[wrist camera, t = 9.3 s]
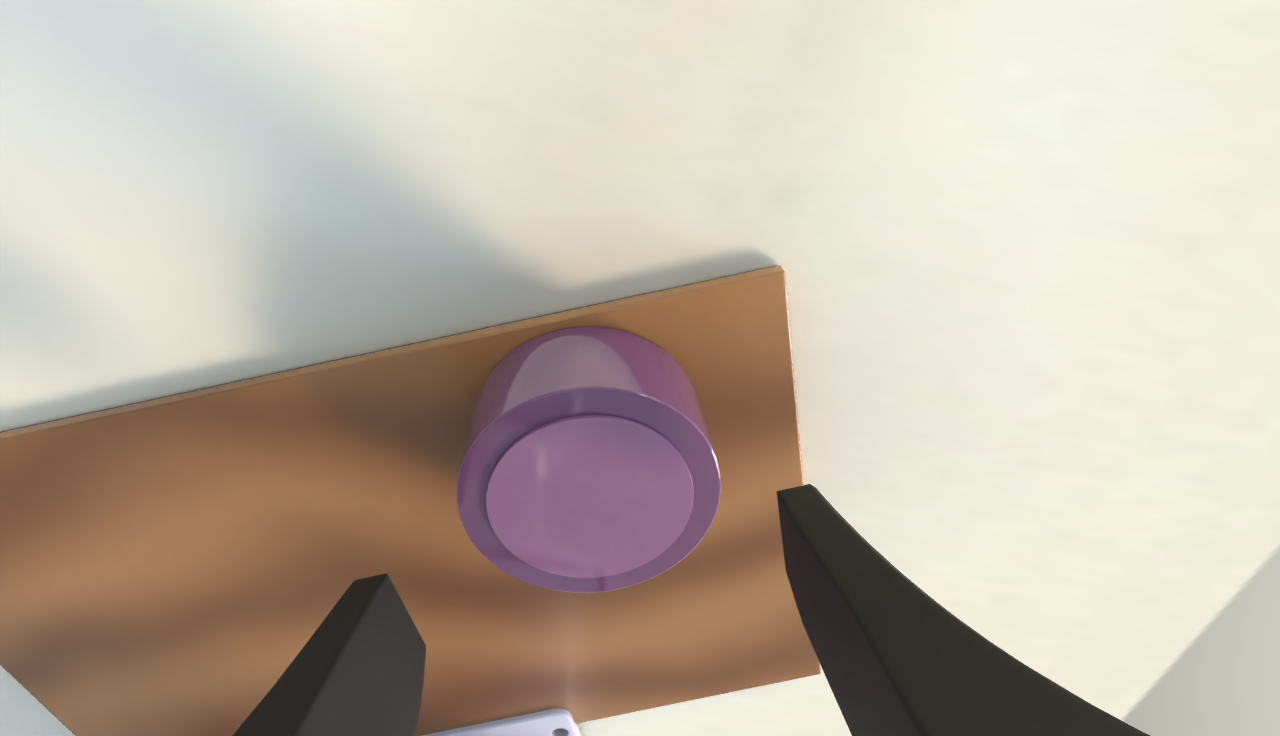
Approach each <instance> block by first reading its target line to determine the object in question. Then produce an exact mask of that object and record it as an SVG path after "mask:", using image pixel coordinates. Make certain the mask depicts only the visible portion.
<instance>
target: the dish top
mask: <svg viewBox="0 0 1280 736" xmlns="http://www.w3.org/2000/svg"><path fill="white" fill-rule="evenodd" d="M720 496H721V474H720V469H719V465H718V461H717V457H716V454H715V451H714V447H713V444H712V441H711V438H710V434H709V431H708V428H707V425H706V421H705V418H704V415H703V412H702V408H701V405H700V402H699V399H698V395H697V392H696V390H695V388H694V386H693V383H692V381H691V380H690V378H689V377H688V375H687V373H686V372H685V370H684V369H683V368H682V367H681V366H680V365H679V363H678V362H677V361H676V360H675V359H674V358H673V357H671V356H670V355H669V354H668V353H667V352H666V351H664V350H663V349H661V348H660V347H658V346H657V345H655V344H654V343H652V342H650V341H648V340H646V339H644V338H642V337H640V336H637V335H634V334H631V333H628V332H625V331H621V330H616V329H611V328H603V327H574V328H567V329H561V330H557V331H553V332H550V333H546V334H543V335H541V336H538V337H536V338H534V339H531V340H529V341H527V342H526V343H524V344H522V345H520V346H519V347H517V348H515V349H514V350H513V351H511V352H510V353H509V354H507V355H506V356H505V357H504V358H503V359H502V360H501V361H500V362H499V363H498V364H497V365H496V366H495V367H494V368H493V369H492V370H491V372H490V373H489V374H488V376H487V377H486V378H485V380H484V382H483V384H482V385H481V387H480V389H479V391H478V394H477V397H476V400H475V402H474V406H473V411H472V415H471V420H470V424H469V429H468V433H467V437H466V442H465V446H464V451H463V455H462V459H461V464H460V468H459V473H458V478H457V484H456V501H457V507H458V513H459V516H460V519H461V522H462V525H463V527H464V529H465V531H466V533H467V534H468V536H469V538H470V540H471V541H472V542H473V544H474V545H475V546H476V548H477V549H478V550H479V551H480V552H481V553H482V554H483V555H484V556H485V557H486V558H487V559H488V560H489V561H490V562H491V563H493V564H494V565H495V566H497V567H498V568H499V569H501V570H503V571H504V572H506V573H508V574H509V575H511V576H513V577H515V578H517V579H519V580H522V581H524V582H526V583H529V584H532V585H535V586H538V587H542V588H546V589H551V590H555V591H563V592H572V593H593V592H605V591H611V590H617V589H622V588H626V587H629V586H633V585H636V584H639V583H642V582H644V581H647V580H649V579H651V578H654V577H656V576H658V575H660V574H662V573H663V572H665V571H667V570H668V569H670V568H672V567H673V566H675V565H676V564H677V563H679V562H680V561H681V560H683V559H684V558H685V557H686V556H687V555H688V554H689V553H690V552H691V551H692V550H693V549H695V548H696V546H697V545H698V544H699V543H700V541H701V540H702V539H703V538H704V536H705V535H706V533H707V531H708V530H709V528H710V526H711V525H712V522H713V520H714V518H715V515H716V513H717V509H718V505H719V501H720Z"/></svg>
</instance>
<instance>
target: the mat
mask: <svg viewBox="0 0 1280 736" xmlns="http://www.w3.org/2000/svg"><path fill="white" fill-rule="evenodd" d="M574 327H603V328H611V329H616V330H621V331H625V332H628V333H631V334H634V335H637V336H640V337H642V338H644V339H646V340H648V341H650V342H652V343H654V344H655V345H657V346H658V347H660V348H661V349H663V350H664V351H666V352H667V353H668V354H669V355H670V356H671V357H673V358H674V359H675V360H676V361H677V362H678V363H679V365H680V366H681V367H682V368H683V369H684V370H685V372H686V373H687V375H688V377H689V378H690V380H691V381H692V383H693V386H694V388H695V390H696V392H697V395H698V399H699V402H700V405H701V408H702V412H703V415H704V418H705V421H706V425H707V428H708V431H709V434H710V438H711V441H712V444H713V447H714V451H715V454H716V457H717V461H718V465H719V469H720V474H721V496H720V501H719V505H718V509H717V513H716V515H715V518H714V520H713V522H712V525H711V526H710V528H709V530H708V531H707V533H706V535H705V536H704V538H703V539H702V540H701V541H700V543H699V544H698V545H697V546H696V548H695V549H693V550H692V551H691V552H690V553H689V554H688V555H687V556H686V557H685V558H684V559H683V560H681V561H680V562H679V563H677V564H676V565H675V566H673V567H672V568H670V569H668V570H667V571H665V572H663V573H662V574H660V575H658V576H656V577H654V578H651V579H649V580H647V581H644V582H642V583H639V584H636V585H633V586H629V587H626V588H622V589H617V590H611V591H605V592H593V593H572V592H563V591H555V590H551V589H546V588H542V587H538V586H535V585H532V584H529V583H526V582H524V581H522V580H519V579H517V578H515V577H513V576H511V575H509V574H508V573H506V572H504V571H503V570H501V569H499V568H498V567H497V566H495V565H494V564H493V563H491V562H490V561H489V560H488V559H487V558H486V557H485V556H484V555H483V554H482V553H481V552H480V551H479V550H478V549H477V548H476V546H475V545H474V544H473V542H472V541H471V540H470V538H469V536H468V534H467V533H466V531H465V529H464V527H463V525H462V522H461V519H460V516H459V513H458V507H457V501H456V484H457V478H458V473H459V468H460V464H461V459H462V455H463V451H464V446H465V442H466V437H467V433H468V429H469V424H470V420H471V415H472V411H473V406H474V402H475V400H476V397H477V394H478V391H479V389H480V387H481V385H482V384H483V382H484V380H485V378H486V377H487V376H488V374H489V373H490V372H491V370H492V369H493V368H494V367H495V366H496V365H497V364H498V363H499V362H500V361H501V360H502V359H503V358H504V357H505V356H506V355H507V354H509V353H510V352H511V351H513V350H514V349H515V348H517V347H519V346H520V345H522V344H524V343H526V342H527V341H529V340H531V339H534V338H536V337H538V336H541V335H543V334H546V333H550V332H553V331H557V330H561V329H567V328H574ZM803 485H804V482H803V470H802V459H801V448H800V437H799V426H798V414H797V403H796V392H795V381H794V370H793V358H792V347H791V336H790V325H789V313H788V302H787V291H786V280H785V272H784V270H783V269H782V267H781V266H774V267H769V268H765V269H760V270H755V271H751V272H746V273H741V274H737V275H732V276H727V277H723V278H718V279H713V280H709V281H704V282H699V283H695V284H690V285H685V286H681V287H676V288H671V289H667V290H662V291H657V292H653V293H648V294H643V295H639V296H634V297H629V298H625V299H620V300H615V301H611V302H606V303H601V304H597V305H592V306H587V307H583V308H578V309H573V310H569V311H564V312H559V313H555V314H550V315H546V316H541V317H536V318H532V319H527V320H522V321H518V322H513V323H508V324H504V325H499V326H494V327H490V328H485V329H480V330H476V331H471V332H466V333H462V334H457V335H452V336H448V337H443V338H438V339H434V340H429V341H424V342H420V343H415V344H410V345H406V346H401V347H396V348H392V349H387V350H382V351H378V352H373V353H368V354H364V355H359V356H354V357H350V358H345V359H340V360H336V361H331V362H326V363H322V364H317V365H312V366H308V367H303V368H298V369H294V370H289V371H284V372H280V373H275V374H271V375H266V376H261V377H257V378H252V379H247V380H243V381H238V382H233V383H229V384H224V385H219V386H215V387H210V388H205V389H201V390H196V391H191V392H187V393H182V394H177V395H173V396H168V397H163V398H159V399H154V400H149V401H145V402H140V403H135V404H131V405H126V406H121V407H117V408H112V409H107V410H103V411H98V412H93V413H89V414H84V415H79V416H75V417H70V418H65V419H61V420H56V421H51V422H47V423H42V424H37V425H33V426H28V427H23V428H19V429H14V430H10V431H5V432H0V665H1V666H2V667H3V668H4V669H5V670H6V671H7V672H9V673H10V674H11V675H12V676H13V677H14V678H15V679H16V680H17V681H18V682H19V683H20V684H21V685H22V686H23V687H24V688H25V689H27V690H28V691H29V692H30V693H31V694H32V695H33V696H34V697H35V698H36V699H37V700H38V701H39V702H40V703H41V704H42V705H43V706H45V707H46V708H47V709H48V710H49V711H50V712H51V713H52V714H53V715H54V716H55V717H56V718H57V719H58V720H59V721H60V722H61V723H63V724H64V725H65V726H66V727H67V728H68V729H69V730H70V731H71V732H72V733H73V734H74V735H75V736H232V735H233V734H234V733H235V732H236V730H237V729H238V728H239V727H240V726H241V724H242V723H243V722H244V721H245V720H246V718H247V717H248V716H249V715H250V714H251V712H252V711H253V710H254V709H255V708H256V706H257V705H258V704H259V703H260V702H261V700H262V699H263V698H264V697H265V696H266V694H267V693H268V692H269V691H270V690H271V688H272V687H273V686H274V685H275V683H276V682H277V681H278V679H279V678H280V677H281V676H282V674H283V673H284V672H285V670H286V669H287V668H288V666H289V665H290V664H291V663H292V661H293V660H294V659H295V657H296V656H297V655H298V653H299V652H300V651H301V650H302V648H303V647H304V646H305V644H306V643H307V642H308V640H309V639H310V638H311V636H312V635H313V634H314V632H315V631H316V630H317V628H318V627H319V626H320V625H321V623H322V622H323V621H324V619H325V618H326V617H327V615H328V614H329V613H330V611H331V610H332V609H333V607H334V606H335V605H336V603H337V602H338V601H339V599H340V598H341V597H342V595H343V594H344V593H345V592H346V590H347V589H348V588H349V587H350V585H351V584H352V583H353V582H354V580H357V579H362V578H367V577H371V576H376V575H381V574H386V573H387V574H388V576H389V578H390V579H391V581H392V583H393V585H394V587H395V589H396V591H397V592H398V594H399V596H400V598H401V600H402V602H403V604H404V605H405V607H406V609H407V611H408V613H409V615H410V617H411V619H412V620H413V622H414V624H415V626H416V628H417V630H418V632H419V633H420V635H421V637H422V639H423V641H424V643H425V645H426V658H425V671H424V683H423V692H422V702H421V707H420V712H419V717H418V722H417V727H416V732H415V736H422V735H427V734H432V733H437V732H442V731H447V730H451V729H456V728H461V727H466V726H471V725H476V724H481V723H486V722H491V721H496V720H501V719H505V718H510V717H515V716H520V715H525V714H530V713H535V712H540V711H545V710H550V709H558V708H559V709H564V710H566V711H568V712H569V713H570V714H571V715H572V717H573V720H574V722H575V724H576V723H581V722H586V721H591V720H596V719H601V718H606V717H610V716H615V715H620V714H625V713H630V712H635V711H640V710H645V709H650V708H655V707H660V706H665V705H669V704H674V703H679V702H684V701H689V700H694V699H699V698H704V697H709V696H714V695H719V694H724V693H729V692H733V691H738V690H743V689H748V688H753V687H758V686H763V685H768V684H773V683H778V682H783V681H788V680H792V679H797V678H802V677H807V676H812V675H817V674H820V662H819V660H818V658H817V655H816V653H815V651H814V649H813V646H812V644H811V642H810V639H809V637H808V635H807V633H806V630H805V628H804V626H803V623H802V620H801V617H800V614H799V611H798V608H797V605H796V602H795V599H794V596H793V592H792V589H791V586H790V583H789V580H788V576H787V573H786V568H785V560H784V552H783V543H782V535H781V526H780V518H779V509H778V501H777V492H776V491H779V490H784V489H789V488H794V487H798V486H803Z"/></svg>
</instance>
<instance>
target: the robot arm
mask: <svg viewBox="0 0 1280 736" xmlns="http://www.w3.org/2000/svg"><path fill="white" fill-rule="evenodd" d="M776 492H777V501H778V509H779V518H780V526H781V535H782V543H783V552H784V560H785V568H786V573H787V576H788V580H789V583H790V586H791V589H792V592H793V596H794V599H795V602H796V605H797V608H798V611H799V614H800V617H801V620H802V623H803V626H804V628H805V630H806V633H807V635H808V637H809V639H810V642H811V644H812V646H813V649H814V651H815V653H816V655H817V658H818V660H819V662H820V664H821V667H822V669H823V671H824V673H825V676H826V678H827V680H828V682H829V685H830V687H831V689H832V691H833V694H834V696H835V698H836V700H837V703H838V705H839V707H840V709H841V712H842V714H843V716H844V718H845V721H846V723H847V725H848V727H849V730H850V732H851V734H852V736H1150V735H1148V734H1146V733H1143V732H1141V731H1140V730H1138V729H1135V728H1134V727H1132V726H1130V725H1128V724H1126V723H1125V722H1123V721H1121V720H1119V719H1117V718H1115V717H1113V716H1112V715H1110V714H1108V713H1106V712H1104V711H1102V710H1101V709H1099V708H1097V707H1095V706H1093V705H1091V704H1090V703H1088V702H1086V701H1085V700H1083V699H1081V698H1080V697H1078V696H1076V695H1074V694H1073V693H1071V692H1069V691H1068V690H1066V689H1064V688H1063V687H1061V686H1059V685H1058V684H1056V683H1054V682H1053V681H1051V680H1049V679H1048V678H1046V677H1044V676H1043V675H1041V674H1039V673H1038V672H1036V671H1034V670H1033V669H1031V668H1029V667H1028V666H1026V665H1024V664H1023V663H1021V662H1020V661H1018V660H1017V659H1015V658H1014V657H1012V656H1011V655H1009V654H1008V653H1006V652H1005V651H1003V650H1002V649H1000V648H999V647H997V646H996V645H994V644H993V643H991V642H990V641H988V640H987V639H986V638H984V637H983V636H981V635H980V634H979V633H977V632H976V631H974V630H973V629H972V628H970V627H969V626H967V625H966V624H965V623H963V622H962V621H960V620H959V619H958V618H956V617H955V616H954V615H952V614H951V613H950V612H948V611H947V610H946V609H945V608H943V607H942V606H941V605H940V604H938V603H937V602H936V601H934V600H933V599H932V598H931V597H930V596H928V595H927V594H926V593H925V592H923V591H922V590H921V589H920V588H919V587H917V586H916V585H915V584H914V583H912V582H911V581H910V580H909V579H908V578H907V577H905V576H904V575H903V574H902V573H901V572H900V571H898V570H897V569H896V568H895V567H894V566H893V565H892V564H891V563H890V562H889V561H887V560H886V559H885V558H884V557H883V556H882V555H881V554H880V553H879V552H878V551H876V550H875V549H874V548H873V547H872V546H871V545H870V544H869V543H868V542H867V541H866V540H865V539H864V538H863V537H862V536H861V535H860V534H859V533H858V532H857V531H856V530H855V529H854V528H853V527H852V526H851V525H850V524H849V523H848V522H847V521H846V520H845V519H844V518H843V517H842V516H841V515H840V514H839V513H838V512H837V511H836V510H835V509H834V508H833V507H832V506H831V504H830V503H829V502H828V501H827V500H826V499H825V498H824V497H823V496H822V494H821V493H820V492H819V491H818V490H817V489H816V488H815V487H814V486H812V485H810V484H808V485H803V486H798V487H794V488H789V489H784V490H779V491H776ZM425 658H426V645H425V643H424V641H423V639H422V637H421V635H420V633H419V632H418V630H417V628H416V626H415V624H414V622H413V620H412V619H411V617H410V615H409V613H408V611H407V609H406V607H405V605H404V604H403V602H402V600H401V598H400V596H399V594H398V592H397V591H396V589H395V587H394V585H393V583H392V581H391V579H390V578H389V576H388V574H387V573H386V574H381V575H376V576H371V577H367V578H362V579H357V580H354V582H353V583H352V584H351V585H350V587H349V588H348V589H347V590H346V592H345V593H344V594H343V595H342V597H341V598H340V599H339V601H338V602H337V603H336V605H335V606H334V607H333V609H332V610H331V611H330V613H329V614H328V615H327V617H326V618H325V619H324V621H323V622H322V623H321V625H320V626H319V627H318V628H317V630H316V631H315V632H314V634H313V635H312V636H311V638H310V639H309V640H308V642H307V643H306V644H305V646H304V647H303V648H302V650H301V651H300V652H299V653H298V655H297V656H296V657H295V659H294V660H293V661H292V663H291V664H290V665H289V666H288V668H287V669H286V670H285V672H284V673H283V674H282V676H281V677H280V678H279V679H278V681H277V682H276V683H275V685H274V686H273V687H272V688H271V690H270V691H269V692H268V693H267V694H266V696H265V697H264V698H263V699H262V700H261V702H260V703H259V704H258V705H257V706H256V708H255V709H254V710H253V711H252V712H251V714H250V715H249V716H248V717H247V718H246V720H245V721H244V722H243V723H242V724H241V726H240V727H239V728H238V729H237V730H236V732H235V733H234V734H233V735H232V736H415V732H416V727H417V722H418V717H419V712H420V707H421V702H422V692H423V683H424V671H425ZM422 736H582V735H581V733H580V730H579V728H578V725H577V723H576V724H575V722H574V720H573V717H572V715H571V714H570V713H569V712H568V711H566V710H564V709H559V708H558V709H550V710H545V711H540V712H535V713H530V714H525V715H520V716H515V717H510V718H505V719H501V720H496V721H491V722H486V723H481V724H476V725H471V726H466V727H461V728H456V729H451V730H447V731H442V732H437V733H432V734H427V735H422Z"/></svg>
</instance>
